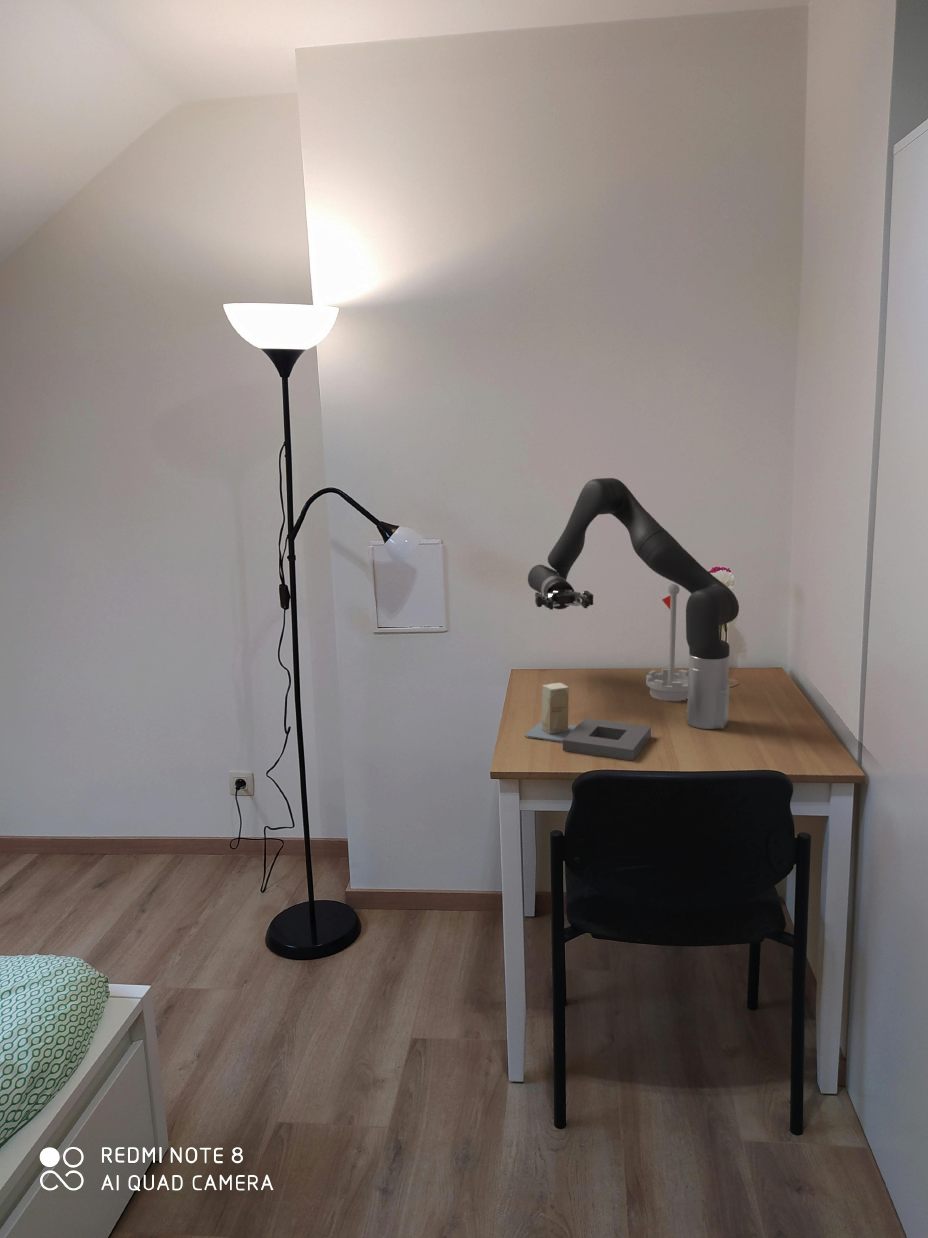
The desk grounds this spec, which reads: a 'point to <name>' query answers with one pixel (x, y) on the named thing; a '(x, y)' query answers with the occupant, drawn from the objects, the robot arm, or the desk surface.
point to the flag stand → (667, 681)
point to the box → (555, 708)
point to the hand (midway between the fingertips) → (569, 604)
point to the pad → (541, 734)
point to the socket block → (589, 743)
